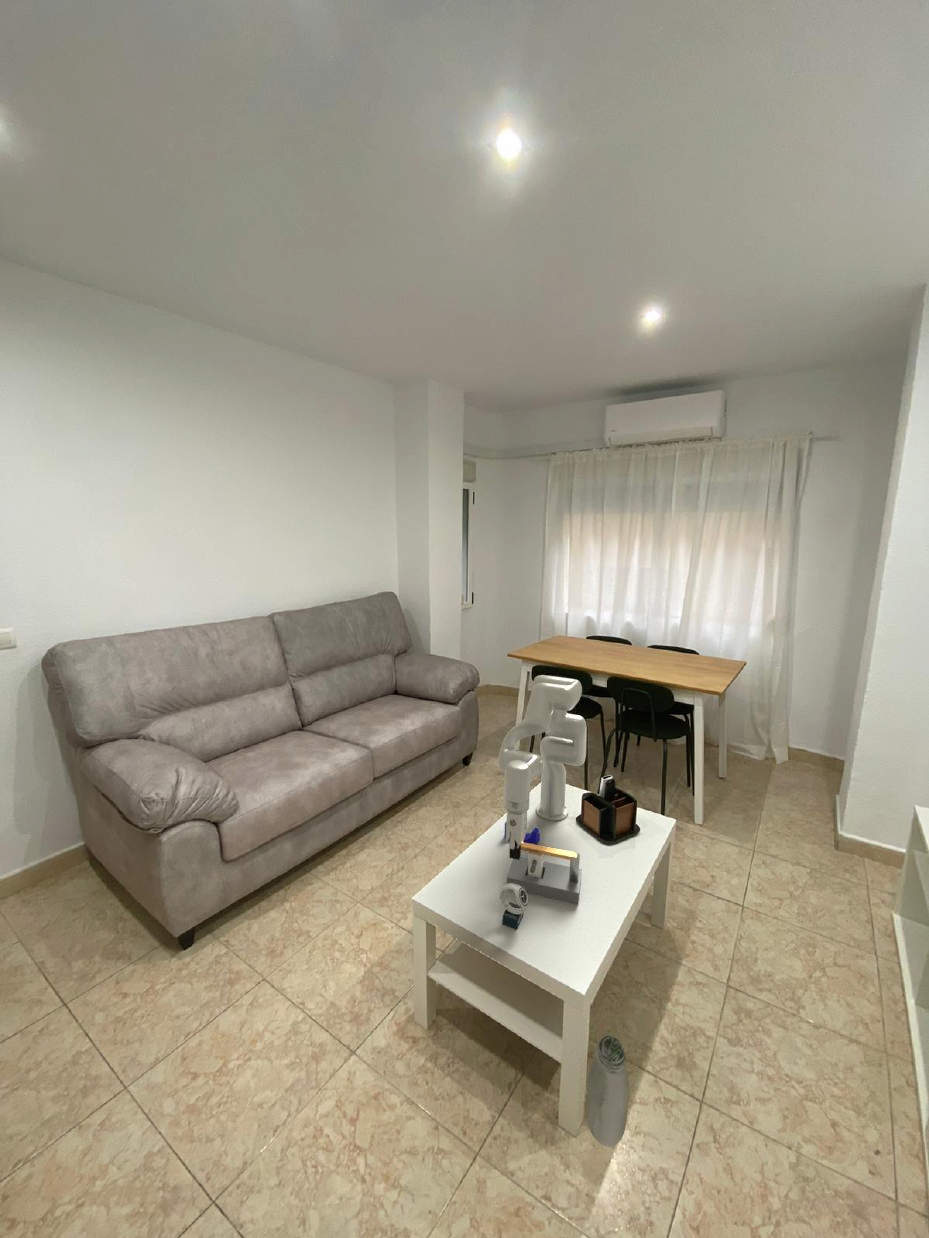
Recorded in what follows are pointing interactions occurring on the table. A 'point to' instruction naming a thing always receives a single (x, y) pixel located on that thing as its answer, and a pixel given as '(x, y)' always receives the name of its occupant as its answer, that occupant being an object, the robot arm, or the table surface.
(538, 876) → the white upright block
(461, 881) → the table surface
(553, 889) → the socket block
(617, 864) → the table surface
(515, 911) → the watch
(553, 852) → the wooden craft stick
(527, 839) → the blue cradle stand
